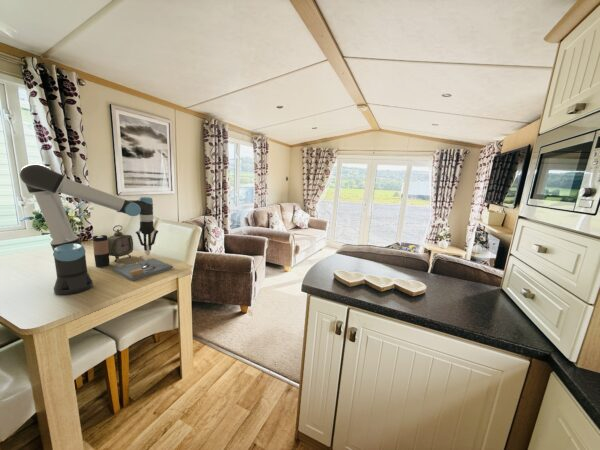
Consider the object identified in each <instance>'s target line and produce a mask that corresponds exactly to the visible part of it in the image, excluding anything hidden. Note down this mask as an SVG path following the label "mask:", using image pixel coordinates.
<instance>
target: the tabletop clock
mask: <svg viewBox="0 0 600 450" xmlns="http://www.w3.org/2000/svg"><path fill="white" fill-rule="evenodd" d="M117 227H121V228H120V229H116V230H115V228H117ZM112 230H113V232H114V233H113V235H110V236H107V239H108V248H109V257H111V256H112V257H115V260H114V262H115V263H117V262H118V259H119V260H120V257H124V256H128V257H129V258H131V257H132V255H131V254H132V253H133V251H134V241H133V240H134V239H133V236H132V235H129V234H123V232H122V230H123V226H122V225H120V224H119V225H115V226H114V227H112Z"/></svg>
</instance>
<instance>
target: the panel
mask: <svg viewBox="0 0 600 450" xmlns="http://www.w3.org/2000/svg"><path fill="white" fill-rule="evenodd" d="M147 259H148V265H149V264H151V265H153V269H149V270H146V271H143V273H142V274H139V275H135V276H130V273H129V271H132V270H136V269H140V268H141V269H142V266H143V265H142V264H141V263H140V261H137V262H131V263H128V264H124V265H119V266H115V267H112V271H113V273H116V274H118V275H120V276H122V277H124V278H125V279H127V280H129V281H131V282H132V281H135V280H139V279H140V280H141V279H143V278H146V277H150V276H153V275H156V274H160V273H163V272H167V271H170V270H172V269H171V268H173V269H174V265H172V264H169V263H167V262H164V261H162V260H159V259H158V258H153V257H152V258H147ZM169 269H170V270H169ZM143 270H144V269H143ZM166 270H167V271H166Z"/></svg>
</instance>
